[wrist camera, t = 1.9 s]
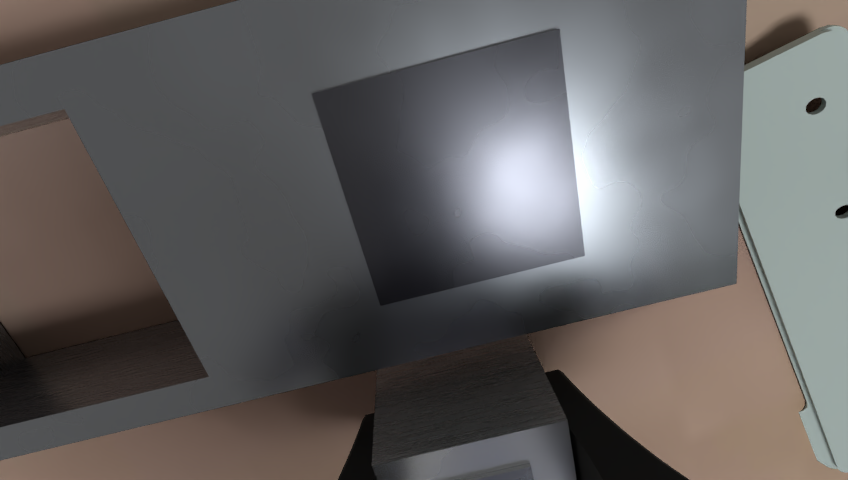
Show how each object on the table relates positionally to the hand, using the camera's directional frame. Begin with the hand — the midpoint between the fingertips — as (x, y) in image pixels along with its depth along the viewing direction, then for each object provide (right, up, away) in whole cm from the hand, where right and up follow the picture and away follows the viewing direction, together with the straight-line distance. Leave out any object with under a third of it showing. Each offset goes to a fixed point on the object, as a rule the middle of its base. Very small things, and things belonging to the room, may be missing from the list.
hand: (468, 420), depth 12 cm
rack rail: (-7, +6, -1) cm, 9 cm away
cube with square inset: (0, 0, +1) cm, 1 cm away
